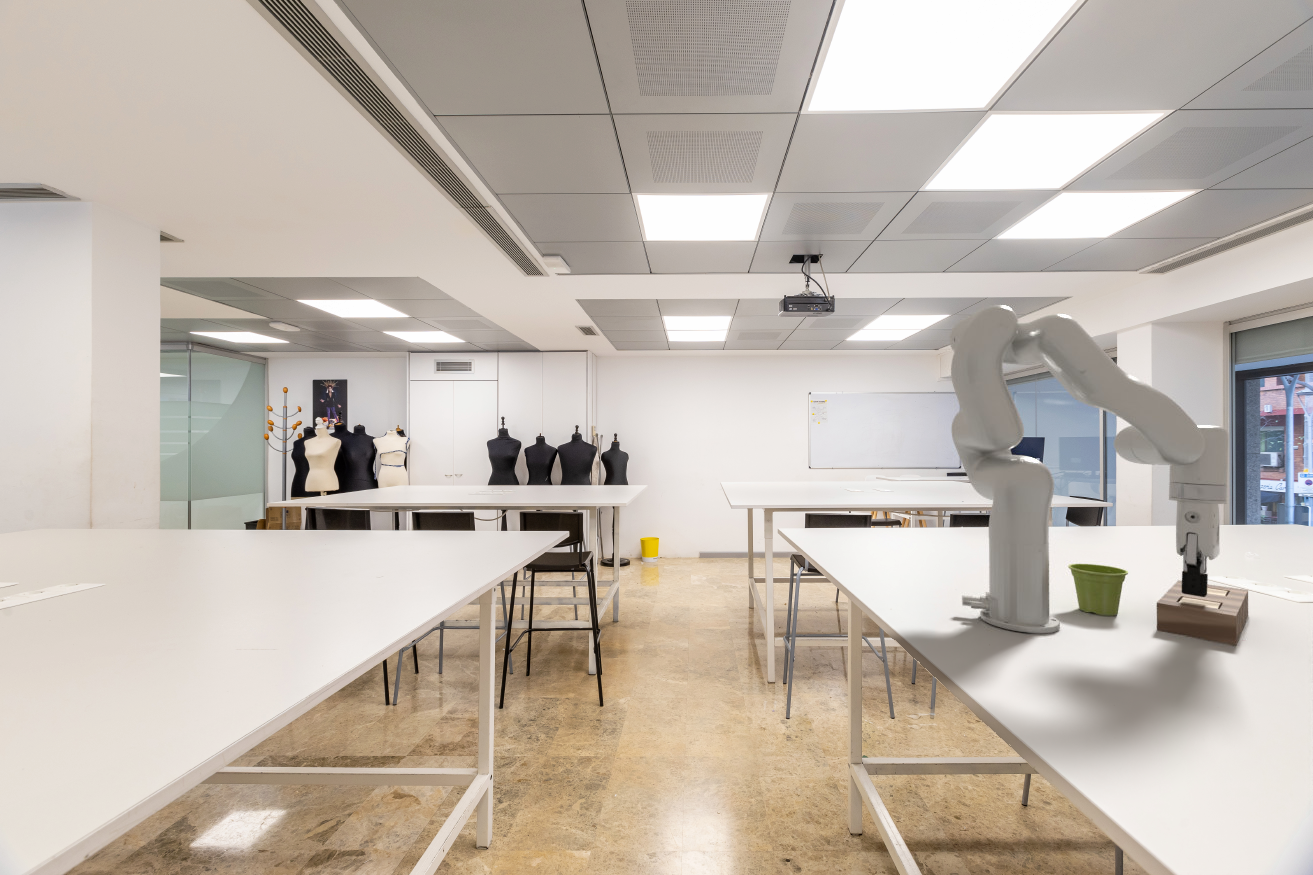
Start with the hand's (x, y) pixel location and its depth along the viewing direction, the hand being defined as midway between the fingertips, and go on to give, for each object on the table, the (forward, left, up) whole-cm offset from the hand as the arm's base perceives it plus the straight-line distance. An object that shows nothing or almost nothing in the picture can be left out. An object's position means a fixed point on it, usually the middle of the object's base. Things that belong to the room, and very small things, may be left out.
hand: (1194, 594), depth 101 cm
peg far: (+6, +11, -6) cm, 14 cm away
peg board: (+3, +6, -6) cm, 9 cm away
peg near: (+1, 0, -7) cm, 6 cm away
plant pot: (-13, +7, -7) cm, 16 cm away
